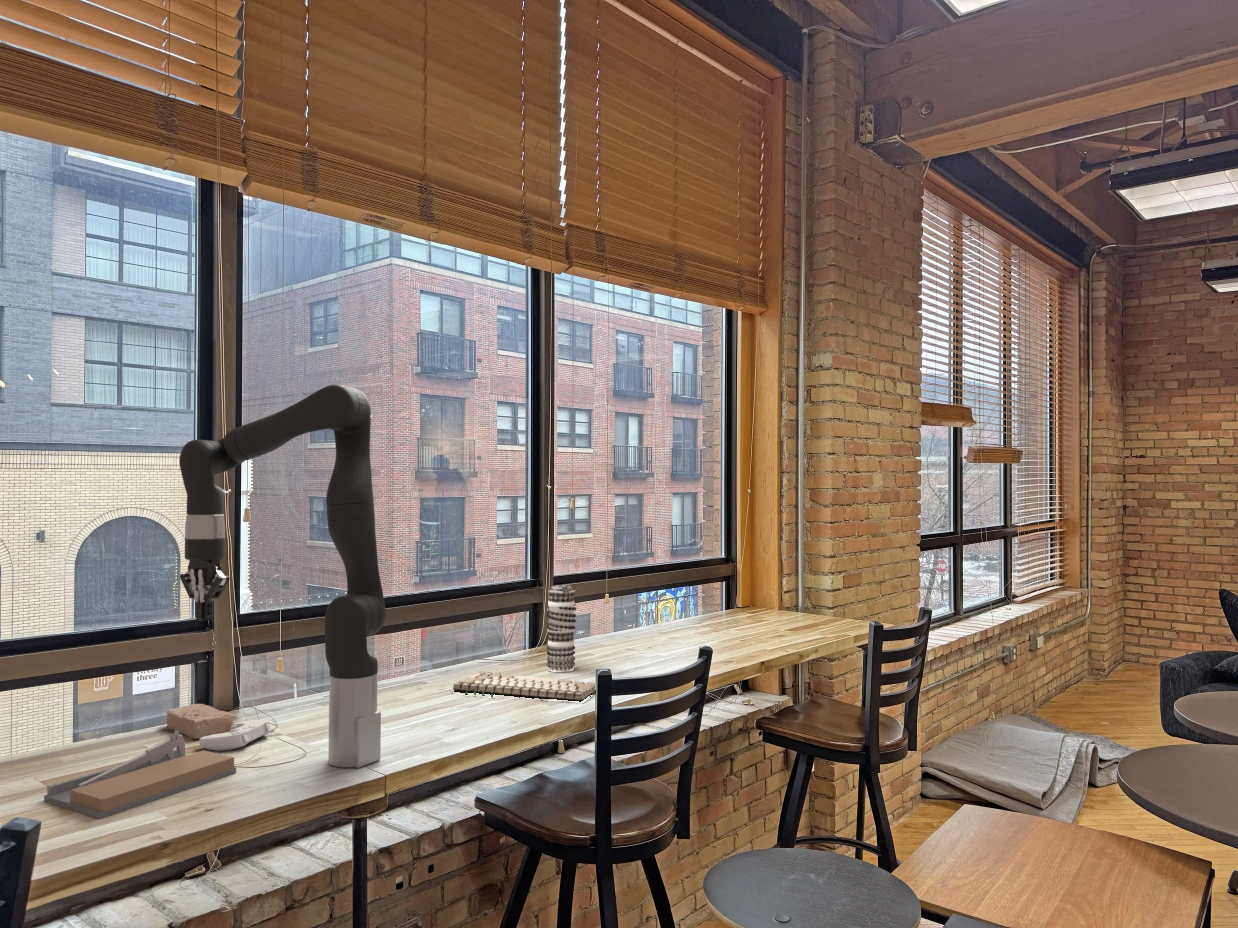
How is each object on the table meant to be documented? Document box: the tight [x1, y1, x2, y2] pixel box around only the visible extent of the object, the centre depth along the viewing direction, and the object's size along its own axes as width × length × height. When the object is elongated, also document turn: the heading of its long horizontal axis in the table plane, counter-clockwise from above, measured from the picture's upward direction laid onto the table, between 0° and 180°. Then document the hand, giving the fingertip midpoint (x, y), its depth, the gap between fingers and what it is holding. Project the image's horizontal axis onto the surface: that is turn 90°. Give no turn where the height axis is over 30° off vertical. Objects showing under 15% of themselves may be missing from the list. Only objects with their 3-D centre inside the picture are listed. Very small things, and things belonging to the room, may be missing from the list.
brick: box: [165, 703, 234, 740], centre depth 191 cm, size 16×8×5 cm, turn 49°
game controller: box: [198, 719, 273, 752], centre depth 183 cm, size 14×4×10 cm
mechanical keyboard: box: [452, 670, 597, 702], centre depth 229 cm, size 38×19×3 cm, turn 75°
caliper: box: [78, 730, 186, 788], centre depth 158 cm, size 21×1×6 cm, turn 152°
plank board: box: [43, 748, 237, 820], centre depth 156 cm, size 16×26×3 cm, turn 152°
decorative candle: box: [545, 584, 577, 671], centre depth 256 cm, size 9×9×25 cm
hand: (203, 619), depth 177 cm, fingers closed
